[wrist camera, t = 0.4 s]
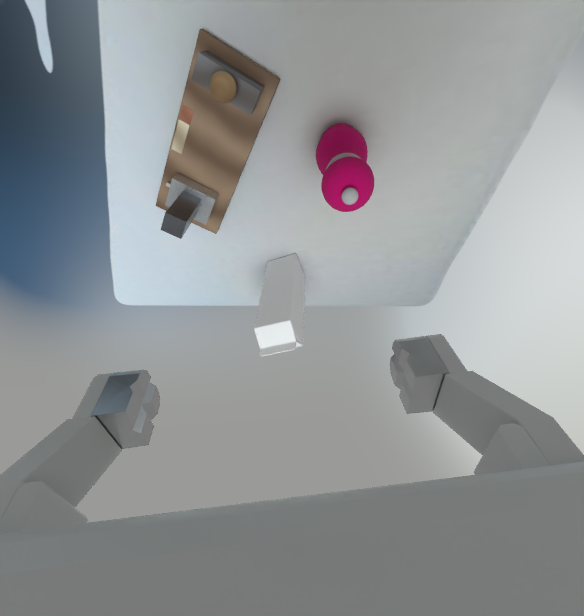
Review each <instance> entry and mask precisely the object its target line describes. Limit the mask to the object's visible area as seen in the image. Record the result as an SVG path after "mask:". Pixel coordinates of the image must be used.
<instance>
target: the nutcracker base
mask: <svg viewBox="0 0 584 616" xmlns="http://www.w3.org/2000/svg"><path fill="white" fill-rule="evenodd" d="M279 81H280V78H278V77H277V76H275V75H274V74H272V73H271V72H269V71H267V70H266V69H264V68H263V67H261V66H260V65H258V64H257V63H255V62H254V61H252V60H250V59H249V58H247V57H246V56H244V55H243V54H241V53H240V52H238V51H236V50H235V49H233V48H232V47H230V46H229V45H227V44H226V43H224V42H222V41H221V40H219V39H218V38H216V37H215V36H213V35H212V34H210V33H208V32H207V31H205V30H204V29H200V31H199V35H198V39H197V43H196V47H195V51H194V55H193V59H192V63H191V67H190V71H189V75H188V79H187V83H186V87H185V91H184V95H183V99H182V103H181V107H180V111H179V115H178V119H177V123H176V127H175V131H174V135H173V139H172V143H171V147H170V151H169V155H168V159H167V163H166V167H165V171H164V175H163V179H162V183H161V187H160V191H159V195H158V198H157V202H156V206H158V207H160V208H162V209H164V210H166V211H167V210H168V209H169V207H167V206H165V203H166V200H167V196H168V192H169V187H167V186H166V183H167V182H169V183H171V181H172V178H173V177H174V176H175V175H176V174H177V173H179V174H181V175H183V176H185V177H187V178H189V179H191V180H193V181H195V182H197V183H199V184H201V185H203V186H205V187H207V188H209V189H211V190H213V191H215V192H217V193H218V194H219V195H218V198H217V200H216V203H215V205H214V208H213V211H212V213H211V216H210V219H209V220H208V222H207V224H206V225H205V224H203V223H200V222H198V221H196V220H194V219H193V221H192V223H194V224H196V225H198V226H200V227H202V228H205V229H207V230H209V231H211V232H213V233H215V234H216V233H217V231H218V229H219V226H220V224H221V222H222V219H223V217H224V214H225V212H226V209H227V207H228V205H229V202H230V200H231V197H232V195H233V192H234V190H235V188H236V185H237V183H238V180H239V178H240V175H241V173H242V171H243V168H244V166H245V163H246V161H247V159H248V156H249V154H250V151H251V149H252V146H253V144H254V142H255V139H256V137H257V134H258V132H259V129H260V127H261V125H262V122H263V120H264V117H265V115H266V112H267V110H268V108H269V105H270V103H271V100H272V98H273V95H274V93H275V91H276V88H277V86H278V83H279Z"/></svg>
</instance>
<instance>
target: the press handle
mask: <svg viewBox="0 0 584 616" xmlns="http://www.w3.org/2000/svg"><path fill="white" fill-rule="evenodd" d="M166 186H167V187H169V192H168V196H167V200H166V203H165V206H167V207H169V209H168V210H167V211H166V213H165V216H164V220H163V223H162V227H161V230H163V231H165V232H167V233H169V234H171V235H174V236H176V237H178V238H180V239H181V238H182V237H183V235H184V233H185V232H186V230H187V229H188V227H189V225H190V224H191V222H192V221H193V219H194V220H196V221H198V222H200V223H203V224H205V225H206V224H207V222H208V220H209V219H210V216H211V213H212V211H213V208H214V205H215V203H216V200H217V198H218V195H219V194H218V193H217V192H215V191H213V190H211V189H209V188H207V187H205V186H203V185H201V184H199V183H197V182H195V181H193V180H191V179H189V178H187V177H185V176H183V175H181V174H179V173H177V174H176V175H175V176H174V177H173V178H172V181H171V183H169V182H167V183H166Z"/></svg>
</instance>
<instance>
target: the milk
mask: <svg viewBox="0 0 584 616" xmlns="http://www.w3.org/2000/svg"><path fill="white" fill-rule="evenodd" d="M304 302H305V275H304V272H303V270H302V267H301V265H300V263H299V260H298V258H297V255H296V254H292V255H289V256H285V257H282V258H278V259H275V260H271V261H268V263H267V268H266V273H265V278H264V283H263V288H262V293H261V298H260V303H259V308H258V313H257V318H256V323H255V328H254V330H255V333H256V336H257V340H258V343H259V346H260V356H266V355H271V354H276V353H281V352H285V351H290V350H294V349H296V347H299V346H303V329H304V327H303V326H304Z"/></svg>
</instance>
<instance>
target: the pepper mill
mask: <svg viewBox="0 0 584 616" xmlns="http://www.w3.org/2000/svg"><path fill="white" fill-rule="evenodd" d="M316 160H317V164H318V167H319V170H320V171H321V173H322V174H323V179H322V193H323V196H324V198H325V200H326V201H327V203H328V204H329V205H330V206H331V207H332V208H334V209H336V210H338V211H342V212H349V211H354V210H357V209H359V208H360V207H362V206H363V205H364V204H365V203H366V202H367V201H368V200H369V198H370V197H371V195H372V192H373V189H374V176H373V173H372V170H371V168H370V167H369V165H368V164H367V163H366V160H367V145H366V142H365V139H364V137H363V136H362V135H361V134H360V133H359V132H358V131H357V130H356V129H354V128H353V127H352V126H350V125H347V124H336V125H333V126H331V127H330V128H328V129H327V130H326V131H325V132H324V134H323V135H322V137H321V140H320V142H319V144H318V146H317V150H316Z"/></svg>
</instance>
